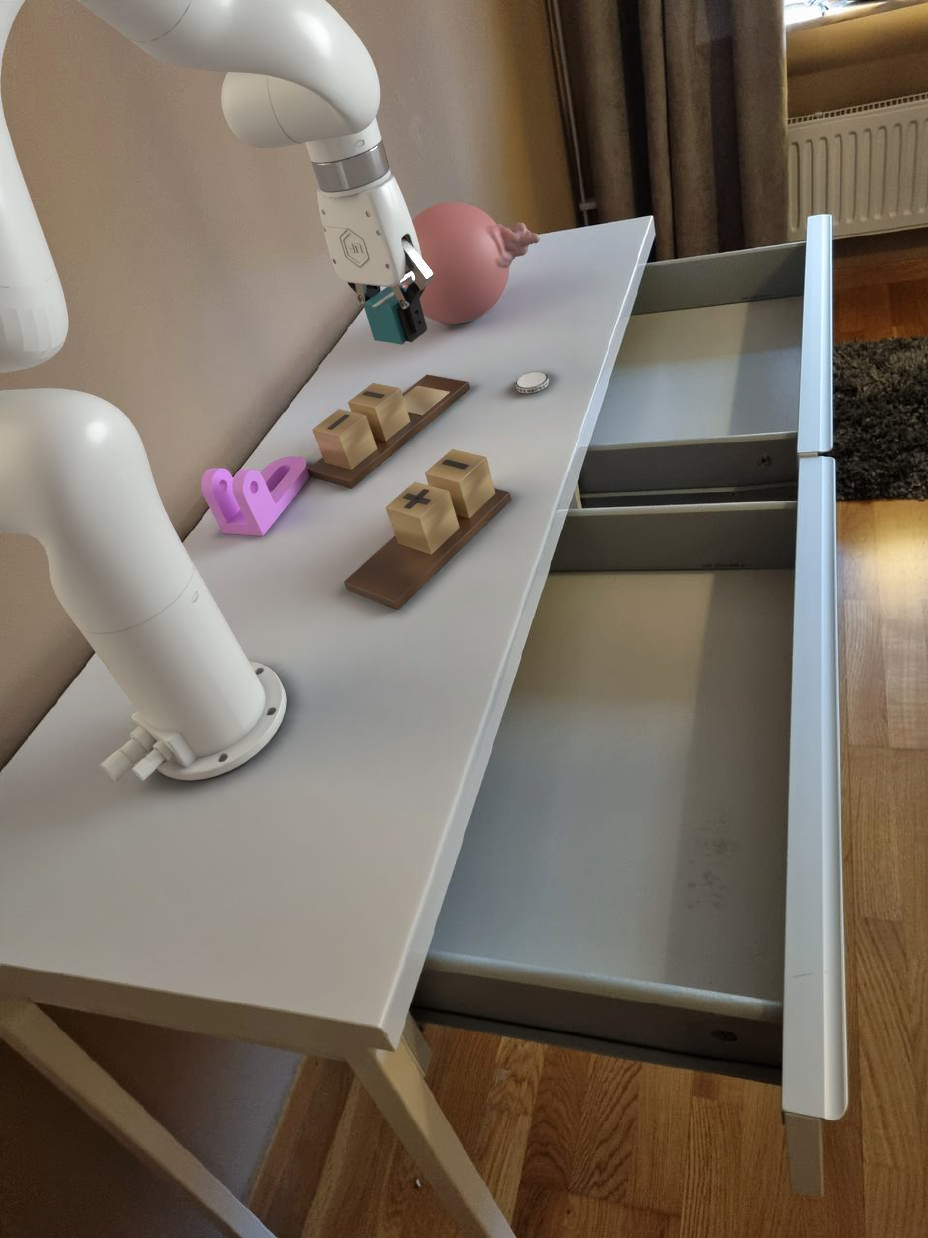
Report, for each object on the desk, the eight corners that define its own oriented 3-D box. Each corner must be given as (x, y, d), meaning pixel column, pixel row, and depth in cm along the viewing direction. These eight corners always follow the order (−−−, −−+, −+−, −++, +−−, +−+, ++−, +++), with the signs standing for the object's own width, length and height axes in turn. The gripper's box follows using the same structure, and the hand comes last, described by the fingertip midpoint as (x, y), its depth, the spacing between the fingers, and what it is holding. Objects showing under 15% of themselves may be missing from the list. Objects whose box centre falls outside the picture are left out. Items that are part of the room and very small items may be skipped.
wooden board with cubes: (398, 610, 82) (381, 564, 78) (346, 589, 86) (327, 544, 82) (511, 499, 91) (500, 453, 87) (459, 485, 95) (447, 441, 91)
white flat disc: (553, 376, 107) (553, 371, 107) (541, 393, 105) (540, 388, 104) (523, 375, 109) (523, 370, 108) (510, 392, 106) (509, 387, 106)
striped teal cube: (400, 346, 100) (388, 307, 97) (372, 341, 103) (360, 304, 100) (428, 324, 103) (418, 286, 100) (400, 320, 105) (390, 283, 102)
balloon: (539, 335, 116) (518, 215, 106) (399, 349, 123) (366, 237, 112) (560, 283, 126) (542, 170, 116) (429, 298, 133) (402, 192, 123)
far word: (351, 488, 99) (335, 446, 95) (310, 476, 103) (293, 434, 100) (470, 388, 110) (460, 347, 106) (428, 381, 114) (417, 340, 110)
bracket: (263, 535, 96) (238, 483, 92) (222, 533, 98) (196, 481, 94) (318, 466, 104) (298, 414, 100) (279, 465, 107) (257, 414, 102)
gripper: (273, 182, 94) (329, 341, 106) (386, 184, 84) (434, 358, 96) (321, 154, 97) (370, 311, 109) (435, 153, 88) (476, 325, 100)
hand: (400, 332), depth 103 cm, fingers closed on striped teal cube, 4 cm apart
